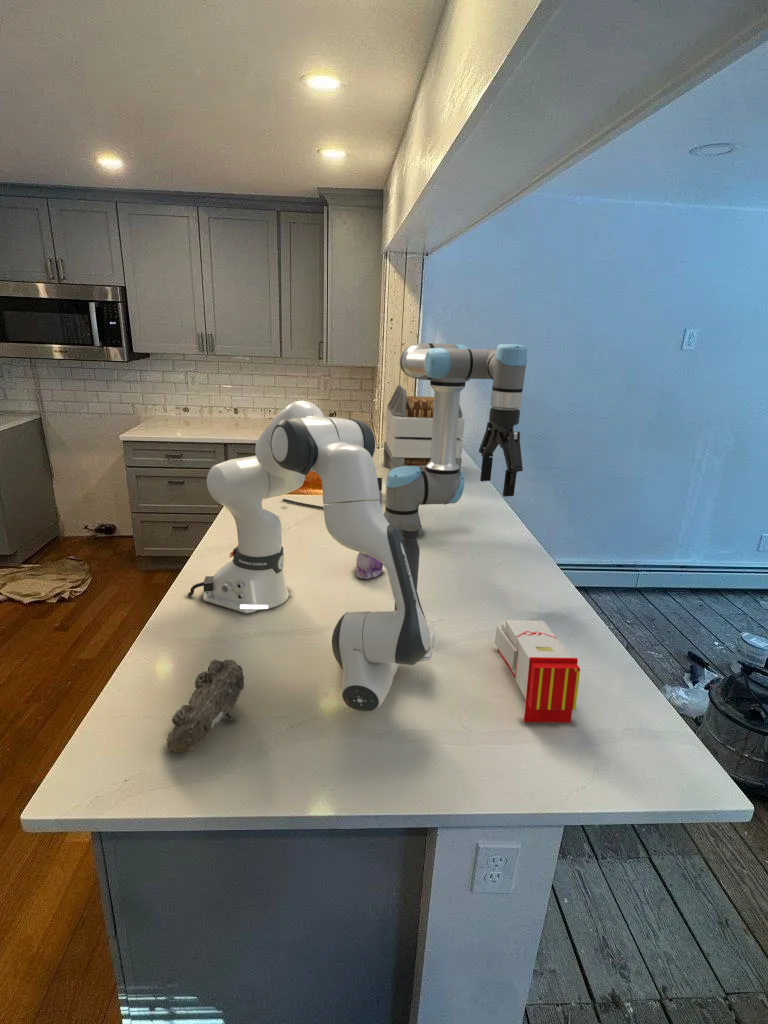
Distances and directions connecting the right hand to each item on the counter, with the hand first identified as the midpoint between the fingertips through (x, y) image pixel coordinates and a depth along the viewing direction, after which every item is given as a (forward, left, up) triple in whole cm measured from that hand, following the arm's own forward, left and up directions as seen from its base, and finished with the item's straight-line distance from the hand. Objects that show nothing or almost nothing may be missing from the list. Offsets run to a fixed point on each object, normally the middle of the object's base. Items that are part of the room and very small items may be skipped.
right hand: (496, 488), depth 150 cm
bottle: (-2, -29, -31) cm, 42 cm away
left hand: (+4, -38, -25) cm, 46 cm away
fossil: (+2, -82, -31) cm, 88 cm away
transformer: (-99, +71, -31) cm, 126 cm away
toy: (+32, -24, -31) cm, 51 cm away
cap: (-2, -29, -6) cm, 29 cm away
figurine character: (-82, +27, -31) cm, 91 cm away
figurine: (-29, -19, -31) cm, 46 cm away
